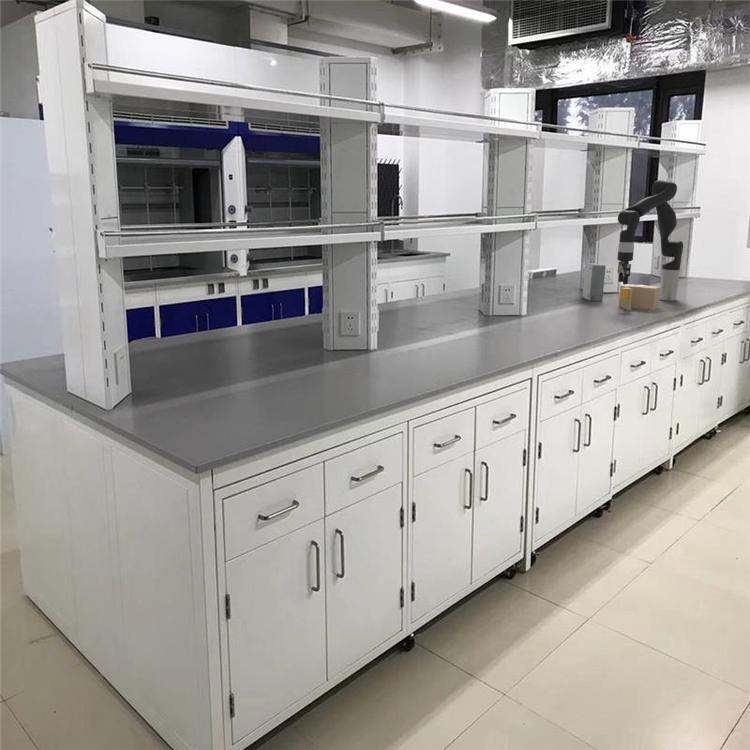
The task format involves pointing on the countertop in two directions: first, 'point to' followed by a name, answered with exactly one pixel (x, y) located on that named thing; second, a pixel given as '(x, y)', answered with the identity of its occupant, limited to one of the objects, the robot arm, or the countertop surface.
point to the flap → (625, 297)
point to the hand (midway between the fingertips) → (622, 283)
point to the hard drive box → (593, 281)
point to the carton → (644, 296)
